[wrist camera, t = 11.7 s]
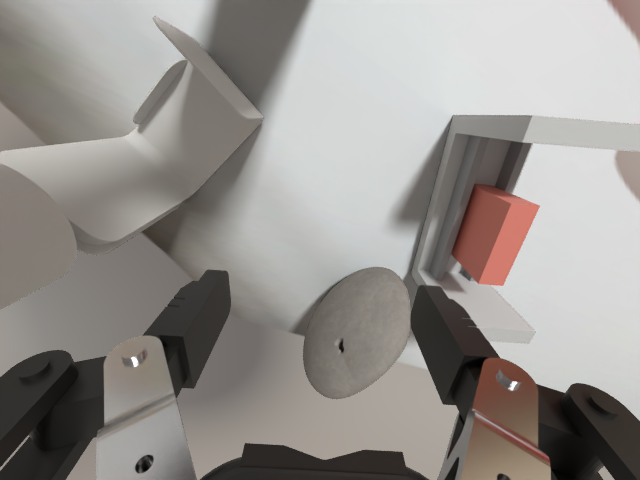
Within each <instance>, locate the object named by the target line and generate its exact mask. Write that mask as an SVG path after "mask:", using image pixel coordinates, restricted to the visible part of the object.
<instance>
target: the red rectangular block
mask: <svg viewBox="0 0 640 480" xmlns="http://www.w3.org/2000/svg"><path fill="white" fill-rule="evenodd" d="M539 207H540V206H539V205H536V204H534V203H531V202H529V201H527V200H524V199H522V198H520V197H517V196H515V195H513V194H510V193H508V192H506V191H503V190H501V189H498V188H496V187H494V186H491V185H486V184H474V186H473V189H472V192H471V195H470V198H469V201H468V204H467V207H466V210H465V213H464V216H463V219H462V222H461V225H460V228H459V231H458V234H457V237H456V240H455V243H454V246H453V249H452V252H451V255H452V256H453V257H454V258H455V259H456V260H457V261H458V262H459V263H460V264H461V265H462V267H463V268H464V269H465V270H466V271H467V272H468V273H469V274H470V275H471V276H472V278H473V279H474V280H475V281H476V282H477V283H478V284H486V285H500V286H503V285H504V282H505V280H506V278H507V276H508V274H509V272H510V269H511V267H512V265H513V263H514V261H515V259H516V257H517V254H518V252H519V250H520V248H521V246H522V244H523V241H524V239H525V237H526V235H527V233H528V231H529V228H530V226H531V224H532V222H533V220H534V218H535V216H536V213H537V211H538V209H539Z"/></svg>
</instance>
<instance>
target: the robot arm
mask: <svg viewBox="0 0 640 480" xmlns="http://www.w3.org/2000/svg"><path fill="white" fill-rule="evenodd" d="M230 307H231V297H230V286H229V276H228V272H227V271H221V270H207V271H206V272H205V273H204V274H203V276H202V277H201V278H200V280H199V281H192V282H190V283H189V284H187V285H186V286H184V287H182V288H181V289H180V290H179V292H178V293H177V294H176V295H175V297H174V299H172V300H171V301H170V303H169V304H168V306H167V307H165V309H164V310H163V311H162V312H161V314H160V315H159V316H158V317H157V319H156V320H155V321H154V322H153V324H152V325H151V326H150V327H149V328H148V330H147V331H146V332H145V333H144V335H143V336H139V337H135V338H132V339H129V340H127V341H125V342H123V343H122V344H120V345H118V346H117V347H115V348H114V349H113V350H112V351H111V352H110V353H109V354H108V356H105V357H100V358H95V359H90V360H84V361H79V362H74V361H73V359H72V357H71V355H70V354H69V353H68V352H66V351H63V350H53V351H47V352H43V353H40V354H37V355H34V356H32V357H30V358H28V359H26V360H23V361H22V362H20V363H18V364H17V365H15V366H14V367H12V368H11V369H10V370H8V371H7V372H6V373H5V374H4V375H3V376H1V377H0V467H1V466H2V465H3V464H4V462H5V461H6V460H7V459H8V458H9V457H10V455H11V454H12V453H13V452H14V451H15V450H16V448H17V447H18V446H19V445H20V444H21V442H23V440H24V439H25V438H26V437H27V436H28V435H29V436H30V437H29V438H28V439H27V441H26V442H25V443H24V444H23V445H22V446H21V447H20V449H19V450H18V451H17V452H16V453H15V455H14V456H13V457H12V458H11V459H10V460H9V462H8V463H7V464H6V465H5V466H4V467H3V469H2V470H1V471H0V480H66V478H67V476H68V475H69V474H70V472H71V471H72V469H73V468H74V466H75V464H76V463H77V461H78V460H79V458H80V456H81V455H82V454H83V452H84V451H85V449H86V448H87V446H88V445H89V443H90V442H91V440H92V439H93V438H94V437H97V441H96V480H197V478H196V474H195V470H194V466H193V463H192V459H191V455H190V451H189V447H188V443H187V439H186V435H185V431H184V427H183V423H182V419H181V415H180V411H179V407H178V403H177V399H176V398H177V396H178V395H179V393H180V391H181V389H182V388H194V387H195V385H196V383H197V381H198V379H199V377H200V375H201V373H202V370H203V368H204V366H205V364H206V362H207V360H208V358H209V356H210V354H211V351H212V349H213V347H214V345H215V343H216V341H217V339H218V337H219V334H220V332H221V330H222V328H223V326H224V324H225V322H226V319H227V318H228V315H229V312H230ZM410 323H411V328H412V330H413V333H414V335H415V338H416V340H417V343H418V345H419V347H420V350H421V352H422V355H423V357H424V360H425V362H426V364H427V367H428V369H429V372H430V374H431V376H432V379H433V381H434V383H435V386H436V389H437V391H438V394H439V396H440V399H441V401H442V403H443V404H446V405H456V406H457V408H458V410H459V413H458V415H457V418H456V420H455V424H454V427H453V431H452V434H451V438H450V441H449V444H448V448H447V451H446V455H445V458H444V462H443V465H442V468H441V471H440V474H439V476H438V478H437V480H603V479H602V477H601V476H600V474H599V473H598V471H599V470H600V469H601V468H602V467H603V466H605V467H606V469H607V470H608V471H609V473H610V474H611V475H612V477H613V478H614V479H615V480H640V421H639V420H638V419H637V418H636V417H635V416H634V415H633V414H632V413H631V412H630V411H629V410H628V409H627V408H626V407H625V406H624V405H623V404H621V403H620V402H619V401H618V400H616V399H615V398H614V397H612V396H610V395H609V394H607V393H605V392H604V391H602V390H600V389H598V388H595V387H593V386H590V385H586V384H581V383H576V384H573V385H571V386H570V387H569V389H568V390H567V391H566V393H563V392H560V391H557V390H553V389H550V388H547V387H544V386H541V385H538V384H536V383H535V382H534V380H533V379H532V378H531V376H530V375H529V374H528V373H527V372H525V371H524V370H523V369H522V368H520V367H519V366H517V365H516V364H514V363H512V362H510V361H508V360H505V359H501V358H500V357H499V356H498V354H497V353H496V351H495V350H494V349H493V347H492V346H491V345H490V343H489V342H488V340H487V339H486V338H485V336H484V335H483V334H482V332H481V331H480V329H479V328H477V325H476V324H475V323H474V321H473V320H471V317H470V316H469V314H468V313H467V311H466V310H465V309H464V308H463V307H462V306H461V305H460V304H458V303H457V302H456V301H455V300H453V299H449V298H448V296H447V295H446V294H445V292H444V291H443V289H442V288H441V287H440V286H432V285H420V286H419V288H418V290H417V294H416V297H415V301H414V304H413V308H412V311H411V316H410ZM200 480H429V479H427V478H426V477H424V476H423V475H421V474H420V473H418V472H416V471H414V470H412V469H410V468H408V467H406V465H405V461H404V457H403V453H402V452H393V451H373V450H362V451H358V452H354V453H351V454H347V455H343V456H339V457H336V458H332V459H328V460H322V459H319V458H316V457H313V456H311V455H308V454H305V453H303V452H300V451H297V450H295V449H292V448H289V447H287V446H284V445H266V444H265V445H264V444H247V443H245V445H244V450H243V454H242V457H240V458H236V459H234V460H231V461H229V462H226V463H224V464H222V465H220V466H218V467H217V468H215V469H213V470H212V471H211V472H209V473H208V474H206V475H205V476H204V477H202V479H200Z"/></svg>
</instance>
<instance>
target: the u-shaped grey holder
mask: <svg viewBox="0 0 640 480" xmlns="http://www.w3.org/2000/svg"><path fill="white" fill-rule="evenodd" d="M533 143H536V144H549V145H561V146H574V147H586V148H598V149H611V150H623V151H635V152H640V124H629V123H617V122H605V121H593V120H580V119H568V118H556V117H544V116H529V115H453V118H452V122H451V125H450V129H449V133H448V137H447V140H446V144H445V148H444V152H443V155H442V159H441V163H440V167H439V170H438V174H437V178H436V182H435V185H434V189H433V193H432V197H431V200H430V204H429V208H428V212H427V215H426V219H425V223H424V227H423V230H422V234H421V238H420V242H419V245H418V249H417V253H416V257H415V260H414V264H413V268H412V272H411V275H412V277H413V278H414V280H415V282H416V284H417V286H418V287H419V286H420V285H432V286H440V287H441V288H442V289H443V291H444V292H445V294H446V295H447V296H448V298H449V299H453V300H455V301H456V302H457V303H458V304H460V305H461V306H462V307H463V308H464V309H465V310H466V311H467V313H468V314H469V316H470V317H471V320H473V321H474V323H475V324H476V325H477V328H479V329H480V331H481V332H482V334H483V335H484V336H485V338H486V339H487V340H488V341H493V342H508V343H524V344H529V343H530V341H531V339H532V338H533V336H534V334H535V333H536V331H535V330H534V329H533V328H532V327H531V326H530V325H529V324H528V323H527V321H526V320H525V319H524V318H523V317H522V316H521V315H520V314H519V313H518V312H517V311H516V310H515V309H514V308H513V307H512V306H511V305H510V304H509V303H508V302H507V301H506V300H505V299H504V298H503V297H502V296H501V295H500V294H499V293H498V292H497V291H496V290H495V289H494V288H493V287H492V286H491V285H486V284H478V283H477V282H476V281H475V280H474V279H473V278H472V276H471V275H470V274H469V273H468V272H467V271H466V270H465V269H464V268H463V267H462V265H461V264H460V263H459V262H458V261H457V260H456V259H455V258H454V257H453V256H452V255H451V252H452V249H453V246H454V243H455V240H456V237H457V234H458V231H459V228H460V225H461V222H462V219H463V216H464V213H465V210H466V207H467V204H468V201H469V198H470V195H471V192H472V189H473V186H474V184H486V185H491V186H494V187H496V188H498V189H501V190H503V191H506V192H508V193H510V194H513V192H514V190H515V187H516V185H517V183H518V180H519V178H520V175H521V173H522V170H523V168H524V165H525V163H526V160H527V158H528V155H529V153H530V150H531V148H532V145H533Z"/></svg>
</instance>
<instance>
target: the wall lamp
mask: <svg viewBox="0 0 640 480" xmlns="http://www.w3.org/2000/svg"><path fill="white" fill-rule="evenodd" d="M153 21H154V23H155V24H156V25H157V27H158V28H159V29H160V30H161V31H162V33H163V34H164V35H165V36H166V37H167V38H168V39H169V40H170V41H171V42H172V44H173V45H174V46H175V47H176V48H177V49H178V50H179V51H180V52H181V53H182V54H183V56H184V57H185V58H186V59H180V60H178V61H176V62H174V63H173V64H172V65H170V66H169V67H168V68H167V69H166V71H165V72H164V73H163V74H162V76H161V77H160V78H159V80H158V81H157V83H156V84H155V85H154V87H153V88H152V89H151V91H150V92H149V93H148V95H147V96H146V98H145V99H144V100H143V102H142V103H141V104H140V106H139V107H138V109H137V110H136V112H135V113H134V116H133V122H134V123H135V124H138V126H137V127H136V128H135V129H134V130H133V131H132V132H131V133H130V134H128V135H126V136H124V137H119V138H110V139H102V140H93V141H84V142H76V143H67V144H58V145H49V146H41V147H32V148H24V149H15V150H8V151H2V152H0V310H1V309H3V308H5V307H6V306H8V305H10V304H12V303H14V302H16V301H18V300H20V299H21V298H23V297H25V296H27V295H29V294H31V293H33V292H35V291H36V290H38V289H40V288H42V287H44V286H46V285H48V284H50V283H52V282H53V281H55V280H57V279H59V278H61V277H62V276H64V275H65V274H66V273H68V271H69V270H70V269H71V267H72V266H73V264H74V262H75V259H76V255H77V250H78V251H81V252H83V253H86V254H92V255H103V254H106V253H108V252H110V251H112V250H113V249H115V248H117V247H118V246H120V245H121V244H123V243H125V242H126V241H128V240H129V239H131V238H132V237H134V236H135V235H137V234H138V233H140V232H142V231H143V230H145V229H146V228H148V227H150V226H151V225H153V224H154V223H156V222H157V221H159V220H160V219H162V218H163V217H165V216H167V215H168V214H170V213H171V212H173V211H174V210H176V209H177V208H179V207H180V206H181V202H183V201H184V200H186V199H188V198H189V197H190V196H192V195H193V194H194V193H195V192H196V191H197V190H198V189H199V188H200V187H201V186H202V185H203V184H204V183H205V182H206V181H207V180H208V179H209V178H210V177H211V176H212V175H213V174H214V173H215V172H216V170H217V169H218V168H219V167H220V166H221V165H222V164H223V163H224V162H225V161H226V160H227V159H228V158H229V157H230V156H231V155H232V153H233V152H234V151H235V150H236V149H237V148H238V147H239V146H240V145H241V144H242V143H243V142H244V141H245V140H246V139H247V138H248V136H249V135H250V134H251V133H252V132H253V131H254V130H255V129H256V128H257V127H258V126H259V125H260V124H261V122H262V121H263V119H264V117H263V116H262V115H261V114H260V112H259V111H258V110H257V109H256V108H255V107H254V106H253V104H252V103H251V102H250V101H249V100H248V99H247V98H246V97H245V95H244V94H243V93H242V92H241V91H240V90H239V89H238V87H237V86H236V85H235V84H234V83H233V82H232V81H231V80H230V78H229V77H228V76H227V75H226V74H225V73H224V72H223V70H222V69H221V68H220V67H219V66H218V65H217V64H216V63H215V61H214V60H213V59H212V58H211V57H210V56H209V55H208V53H207V52H206V51H205V50H204V49H203V48H202V47H201V46H200V44H199V43H198V42H197V41H196V40H195V39H194V38H192V37H191V36H189V35H187V34H186V33H184V32H182V31H180V30H179V29H177V28H175V27H174V26H172V25H170V24H169V23H167V22H165V21H163V20H162V19H160V18H158V17H156V16H154V17H153Z"/></svg>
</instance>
